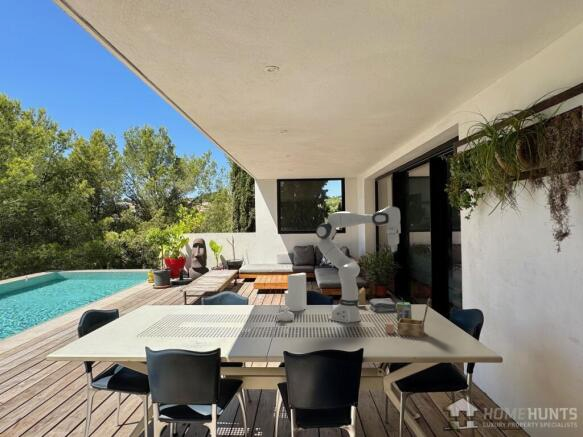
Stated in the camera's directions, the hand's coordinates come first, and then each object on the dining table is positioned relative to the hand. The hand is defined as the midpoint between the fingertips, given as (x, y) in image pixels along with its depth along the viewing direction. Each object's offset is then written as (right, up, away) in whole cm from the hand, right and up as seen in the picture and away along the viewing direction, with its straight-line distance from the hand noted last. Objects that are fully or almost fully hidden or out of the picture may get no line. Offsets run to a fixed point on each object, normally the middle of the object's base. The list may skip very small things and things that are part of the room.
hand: (394, 251), depth 225 cm
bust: (-72, -50, +11) cm, 88 cm away
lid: (+12, -33, -22) cm, 42 cm away
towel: (+3, -50, +40) cm, 64 cm away
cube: (-7, -48, -16) cm, 51 cm away
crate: (+5, -48, -19) cm, 52 cm away
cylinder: (-65, -51, +46) cm, 94 cm away
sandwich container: (-16, -50, +52) cm, 74 cm away
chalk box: (+10, -49, +10) cm, 51 cm away
